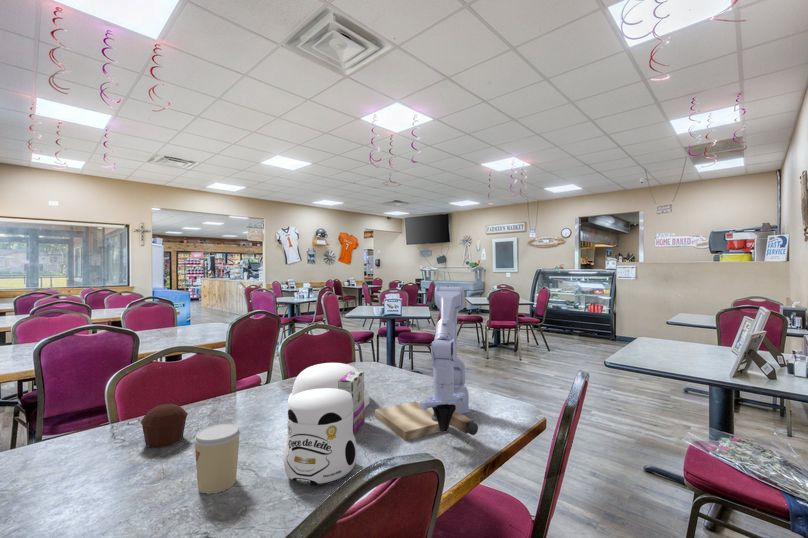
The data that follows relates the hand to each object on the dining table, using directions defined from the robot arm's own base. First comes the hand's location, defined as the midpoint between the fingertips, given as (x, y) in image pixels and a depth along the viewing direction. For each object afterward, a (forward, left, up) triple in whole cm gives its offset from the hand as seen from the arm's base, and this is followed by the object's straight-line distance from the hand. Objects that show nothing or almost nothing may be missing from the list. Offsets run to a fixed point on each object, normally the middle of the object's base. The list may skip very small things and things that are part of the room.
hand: (443, 430), depth 103 cm
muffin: (+69, -42, -4) cm, 80 cm away
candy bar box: (+19, -23, -4) cm, 30 cm away
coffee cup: (+57, -10, -4) cm, 58 cm away
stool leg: (-6, -3, 0) cm, 6 cm away
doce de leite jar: (+35, -3, -4) cm, 35 cm away
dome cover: (+17, -48, -4) cm, 52 cm away
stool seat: (+1, -17, -4) cm, 18 cm away
